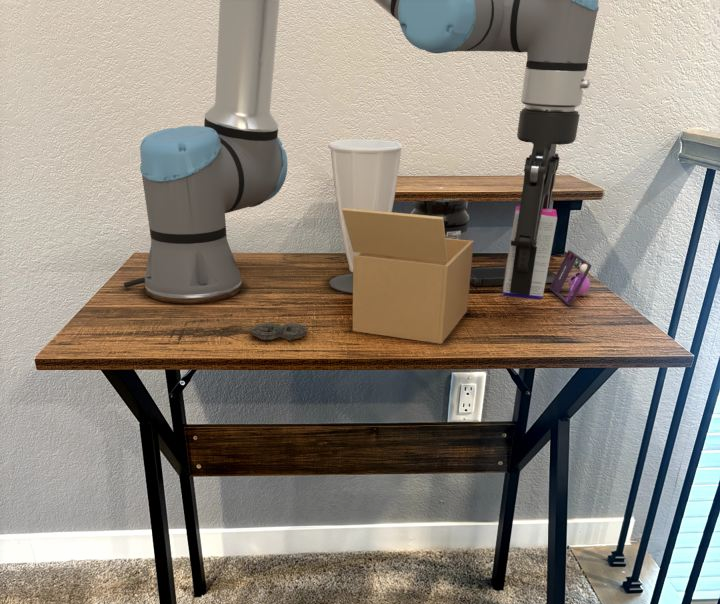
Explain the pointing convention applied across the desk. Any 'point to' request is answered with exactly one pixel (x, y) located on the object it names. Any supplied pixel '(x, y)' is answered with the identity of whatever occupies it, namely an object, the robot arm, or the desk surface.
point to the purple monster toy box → (577, 282)
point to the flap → (396, 234)
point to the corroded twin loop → (278, 331)
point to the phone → (495, 275)
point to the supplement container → (447, 215)
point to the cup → (362, 185)
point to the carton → (412, 293)
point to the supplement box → (541, 258)
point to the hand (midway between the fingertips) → (524, 286)
